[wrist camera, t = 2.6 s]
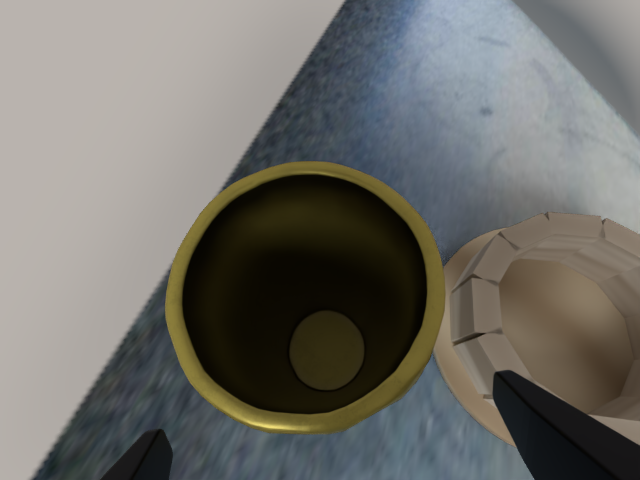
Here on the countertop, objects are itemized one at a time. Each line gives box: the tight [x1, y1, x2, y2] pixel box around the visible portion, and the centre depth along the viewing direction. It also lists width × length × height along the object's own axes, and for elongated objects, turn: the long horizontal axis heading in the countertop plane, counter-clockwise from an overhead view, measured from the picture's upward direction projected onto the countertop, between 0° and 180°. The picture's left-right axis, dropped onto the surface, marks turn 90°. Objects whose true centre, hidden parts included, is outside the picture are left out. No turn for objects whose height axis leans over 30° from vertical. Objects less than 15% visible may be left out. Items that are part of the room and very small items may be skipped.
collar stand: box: [432, 212, 640, 448], centre depth 17 cm, size 12×12×4 cm
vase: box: [165, 161, 446, 434], centre depth 13 cm, size 6×6×14 cm
